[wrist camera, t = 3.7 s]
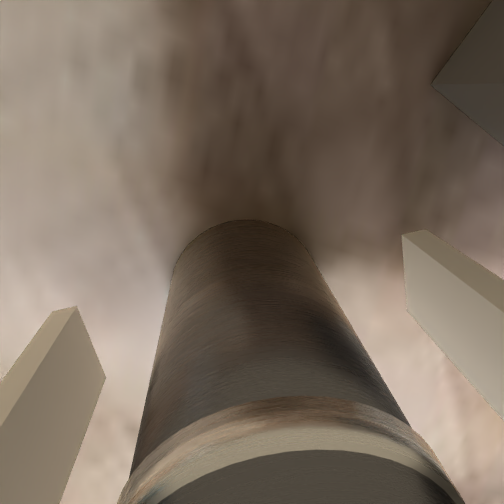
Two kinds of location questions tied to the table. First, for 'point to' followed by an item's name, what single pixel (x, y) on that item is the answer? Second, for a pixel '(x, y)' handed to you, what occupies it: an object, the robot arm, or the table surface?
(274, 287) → the lens
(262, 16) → the table surface
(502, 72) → the grey planter box
